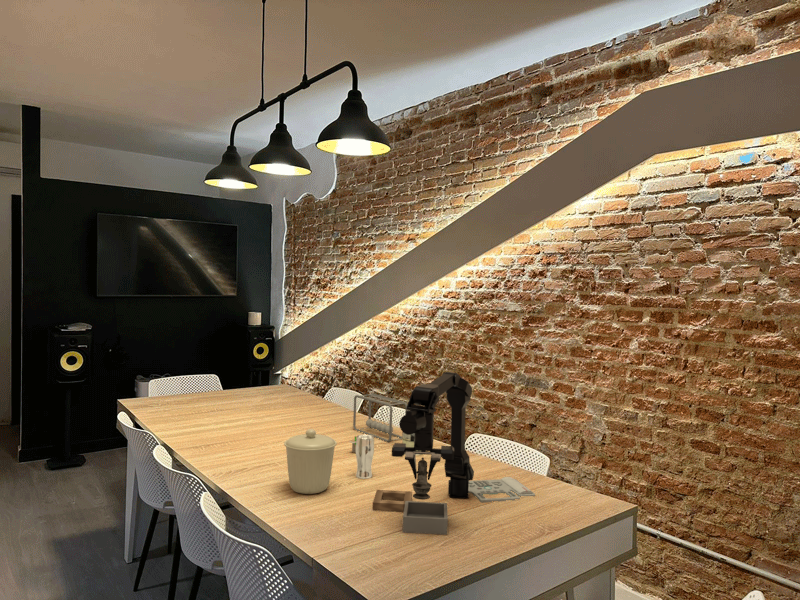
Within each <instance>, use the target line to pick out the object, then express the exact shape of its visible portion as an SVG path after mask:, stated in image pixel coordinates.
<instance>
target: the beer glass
mask: <svg viewBox="0 0 800 600" xmlns="http://www.w3.org/2000/svg"><path fill="white" fill-rule="evenodd" d="M374 452H375V437H374V436H372V435H366V434H358V435H357V437H356V452H355V457H356V463H357V464H356V466H357V467H356V473H355V477H356V478H357V479H361V480H366V479H371V478H373V472H372V464H373V460H374V459H373V458H374Z"/></svg>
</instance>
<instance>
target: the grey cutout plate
mask: <svg viewBox="0 0 800 600" xmlns="http://www.w3.org/2000/svg"><path fill="white" fill-rule="evenodd" d="M511 491H512V492H511ZM513 492H514V493H513ZM469 493H472V494H473V495H472V494H471V495H472V496H474V497H475V496H476V497H477V498H478V499H479V500H478V499H477V498H476V497H475V498H476V499H477V500H478V501H479V502H480V503H494V501H498V502H507V501H506V500H512V501H516V500H515V499H521V498H522V497H521V496H533V497H535V496H536V493H535V492H534V491H532V490H531V489H529V488H528V487H527V486H525V485H524V484H523V483H521V481H519V480H517V478H513V477H511V476H504V477H502V478H499V479H481V480H480V479H479V480H469V488H468V494H469ZM498 493H503V494H505V493H506V494H505V495H507V496H508V495H509V496H510V497H509V496H508V497H491V498H489V497H486V496H485V495H483V494H489V495H499V494H498ZM515 493H516V494H517V495H518V496H517V495H516V494H515ZM519 496H520V497H519ZM492 501H493V502H492Z"/></svg>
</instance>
